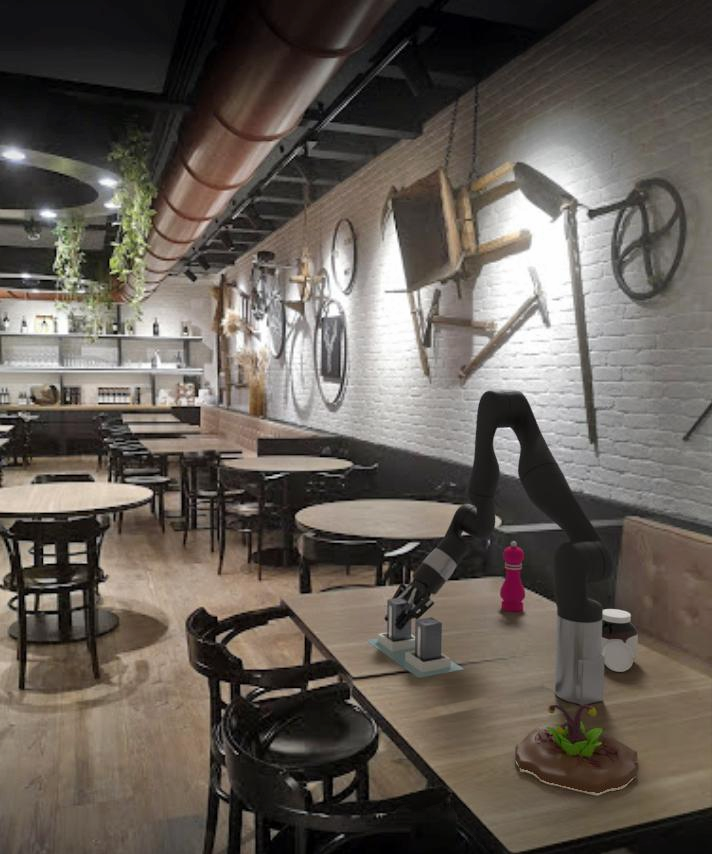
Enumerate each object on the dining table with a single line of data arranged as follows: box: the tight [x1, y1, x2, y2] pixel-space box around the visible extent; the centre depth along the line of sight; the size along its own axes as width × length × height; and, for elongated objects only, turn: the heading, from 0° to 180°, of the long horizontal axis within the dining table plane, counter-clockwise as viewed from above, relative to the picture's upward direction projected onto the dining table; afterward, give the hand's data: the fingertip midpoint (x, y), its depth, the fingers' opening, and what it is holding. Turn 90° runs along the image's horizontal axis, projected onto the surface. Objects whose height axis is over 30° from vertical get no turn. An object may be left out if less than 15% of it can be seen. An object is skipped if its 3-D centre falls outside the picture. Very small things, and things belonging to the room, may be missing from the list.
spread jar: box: [601, 608, 639, 673], centre depth 179 cm, size 12×11×12 cm
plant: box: [514, 704, 638, 793], centre depth 133 cm, size 20×20×11 cm
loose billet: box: [386, 598, 412, 642], centre depth 186 cm, size 4×5×10 cm
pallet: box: [365, 631, 464, 679], centre depth 181 cm, size 26×12×4 cm, turn 26°
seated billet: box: [414, 617, 443, 662], centre depth 174 cm, size 4×5×10 cm
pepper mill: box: [499, 540, 526, 613], centre depth 221 cm, size 7×7×20 cm
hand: (392, 624), depth 186 cm, fingers open, 4 cm apart
